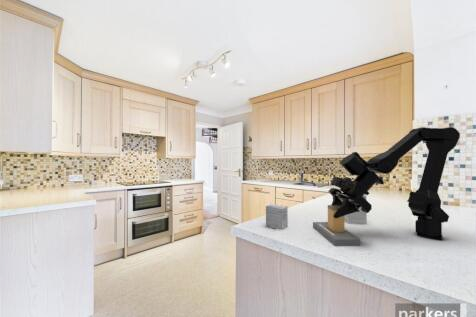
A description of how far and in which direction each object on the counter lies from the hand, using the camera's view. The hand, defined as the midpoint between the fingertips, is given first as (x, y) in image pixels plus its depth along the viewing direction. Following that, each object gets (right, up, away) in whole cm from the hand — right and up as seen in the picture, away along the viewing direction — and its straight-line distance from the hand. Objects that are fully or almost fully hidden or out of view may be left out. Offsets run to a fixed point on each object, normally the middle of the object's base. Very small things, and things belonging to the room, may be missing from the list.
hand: (331, 215), depth 73 cm
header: (+2, -7, 0) cm, 8 cm away
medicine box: (-18, -8, +10) cm, 22 cm away
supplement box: (+18, -8, +16) cm, 25 cm away
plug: (+2, -7, 0) cm, 7 cm away
